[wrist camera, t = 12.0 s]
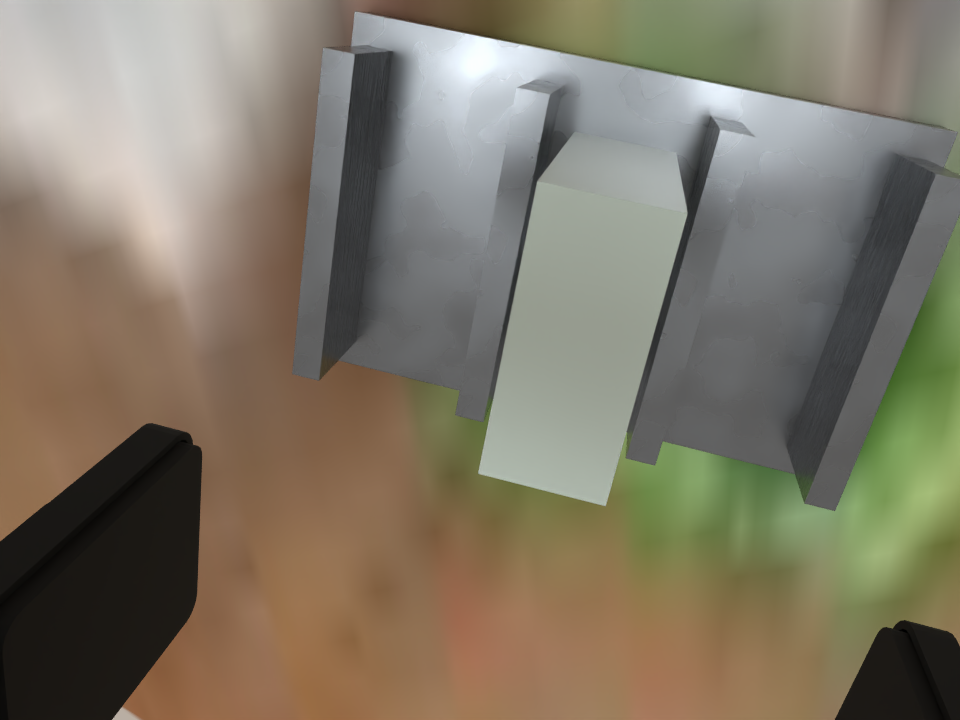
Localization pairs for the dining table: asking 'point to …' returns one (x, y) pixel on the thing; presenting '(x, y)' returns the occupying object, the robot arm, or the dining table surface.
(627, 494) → the dining table surface
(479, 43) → the rack
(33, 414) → the dining table surface
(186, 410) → the dining table surface
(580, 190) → the pale green rectangular prism
